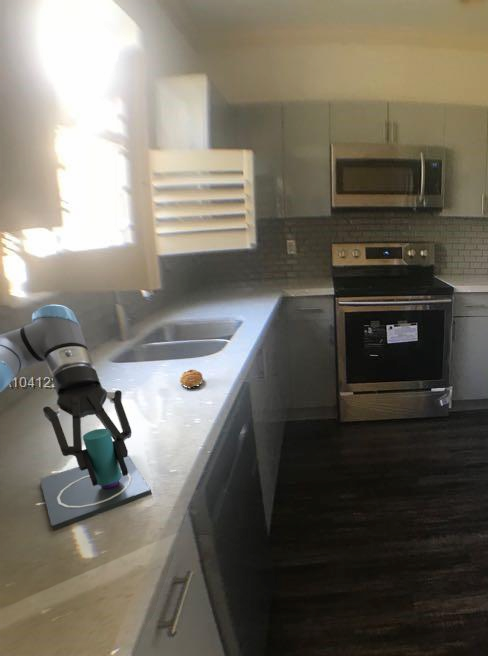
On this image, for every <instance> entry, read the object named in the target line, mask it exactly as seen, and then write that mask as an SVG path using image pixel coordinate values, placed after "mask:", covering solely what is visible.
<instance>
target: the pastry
mask: <svg viewBox="0 0 488 656" xmlns="http://www.w3.org/2000/svg"><path fill="white" fill-rule="evenodd" d="M202 380H204V377H203V374H202V372H200V371H198V370H197V369H188V370H186V371H184V372H183V373H182V374H181V376H180V378H179V382H180V384H181V383H182V384H183V385H185V386H187V387H193V386H197V385H199V384H200V383H201V382H202V383H203V381H202ZM182 384H181V385H182ZM193 388H194V387H193Z"/></svg>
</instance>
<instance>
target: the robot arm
mask: <svg viewBox="0 0 488 656" xmlns="http://www.w3.org/2000/svg"><path fill="white" fill-rule="evenodd" d="M41 362H46V365H47V368H48V371H49V374H50V378H51V379H52V383H53V386H54V389H55V392H56V396H57V400H56V403H54V404H53V405H51V406H43V409H42V411H43V414H44V417H45V418H46V419H47V420H48V421H49V422H50V423H51V426H52V428H53V432H54V434H55V437H56V440H57V443H58V445H59V448H60V452H61V455H62V456H63V457H68V456H74V457H75V459H76V462H77V465H78V467H79V468H80V470H81V471H82V470H86V469H88V472H89V475H90V478H91V481H92V484H93V486H95V485H98V483H97V478H96V475H95V472H94V470H93V467H92V464H91V461H90V458H89V455H88V452H87V449H86V448H84V449H83V443H82V442H83V441H82V440H83V436H82V418H85V417H87V416H94V415H95V417H96V418H97V419H98V420H99V421H100V423H101V424H102V425H103V427H104V429H108V430H110V434H111V437H112V441H113V445H114V449H115V452H116V456H117V460H118V463H119V465H120V468H121V471H122V474H123V476H125V475H128V470H127V467H126V464H125V461H124V459H123V458H125V457H127V456H129V451H128V447H127V446H126V443H125V441H126V440H127V439H130V438H131V437H132V428H131V425H130V423H129V420H128V417H127V413H126V411H125V407H124V406H123V403H122V402H123V401H122V399H123V398H122V397H123V395H122V391H121V390H119V389H118V390H115V391H114V392H113V391H112V392H111V391H107V390H106V388H104V387H103V386H102V384H101V381H100V378H99V376H98V375H99V374H98V373H97V370H96V369H95V366H94V362H93V360H92V357H91V355H90V352H89V349H88V346H87V344H86V341H85V338H84V334H83V332H82V327H81V325H80V323H79V322H78V319H77V317H76V314H75V313H74V311H73V310H72V309H70V308H69V307H67V306H65V305H61V304H48V305H43V306H41V307H38V308H37V310H35V311H33V312H32V315H31V323H30V324H27V325H25V326H22V327H21V328H17V329H14V330H10V331H8V332H5V333H1V334H0V393H2V392H3V391H4V390H6V389H8V387H10V385H11V383H12V382H13V380H14V379H15V378H16V377H17V375H18V374H19V373H21V371H22V370H23V369H26V368H28V367H30V366H33V365H37V364H39V363H41ZM107 399H108V400H109V403H111V404H113V405H114V410H115V414H116V416H117V419H118V422H119V424H120V428H121V430H122V431H120V430H119V429H118V427H117V426H116V424H115V423H114V422H113V420H112V419H111V417H110V416H109V414H108V412H106V410H105V408H104V407H103V406H104V404H105V402H106V400H107ZM60 410H61V411H63V412H66V413H67V414H69V415H71V417H72V445H69V444H68V441H67V439H66V436H65V433H64V430H63V427H62V424H61V421H60V418H59V416H60V415H61V413H60Z"/></svg>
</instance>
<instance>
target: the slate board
mask: <svg viewBox="0 0 488 656" xmlns="http://www.w3.org/2000/svg"><path fill="white" fill-rule="evenodd" d="M123 459H124V461H125V464H126V467H127V470H128V475H125V476H123V474H122V471H121V468H120V471H121V475H122V477H121V479H120V480H119V483H118V484H117V485H116V486H114V487H111V488H102V487H101V486H100V485H95V486H93V484H92V481H91V478H90V475H89V472H88V469H86V470H82V471H81V470H80V468H79V466H75V467H73V468H70V469H67V470H64V471H60V472H57V473H54V474H51V475H48V476H44V477H40V478H39V482H40V486H41V490H42V494H43V497H44V502H45V505H46V510H47V513H48V517H49V521H50V526H51V529H52V530H53V531H57V530H59V529H61V528H64V527H68V526H69V525H72V524H75V523H77V522H80V521H84V520H86V519H89V518H92V517H94V516H96V515H97V516H98V515H99V514H102V513H104V512H106V511H110V510H112V509H115V508H118V507H121V506H123V505H126V504H129V503H131V502H134V501H136V500H139V499H142V498H145V497H147V496H150V495H152V494H153V493H152V489H151V487H150V486H149V484H148V483H147V481H146V479H144V477H143V475H142V474H141V473H140V471H139V470H138V468H137V466H136V464H135V463H134V461H133V460H132V459H131V457H130V455H128V456H127V457H125V458H123ZM118 464H119V463H118ZM119 467H120V465H119Z"/></svg>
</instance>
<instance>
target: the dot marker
mask: <svg viewBox="0 0 488 656" xmlns="http://www.w3.org/2000/svg"><path fill="white" fill-rule="evenodd" d="M82 440H83V443H84V446H85V449H87V452H88V455H89V458H90V461H91V464H92V467H93V470H94V472H95V475H96V478H97V483H98V485H100V486H101V487H102V488H111V487H114V486H116V485H117V484H118V483H119V480H120V479H121V477H122V475H121V471H120V467H119V464H118V460H117V456H116V452H115V449H114V445H113V441H114V440H113V438H112V437H111V434H110V430H108V429H106V428H98V429H97V428H96V429H93V430H90V431H88V432H86V433H84V434H83V436H82Z"/></svg>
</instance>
